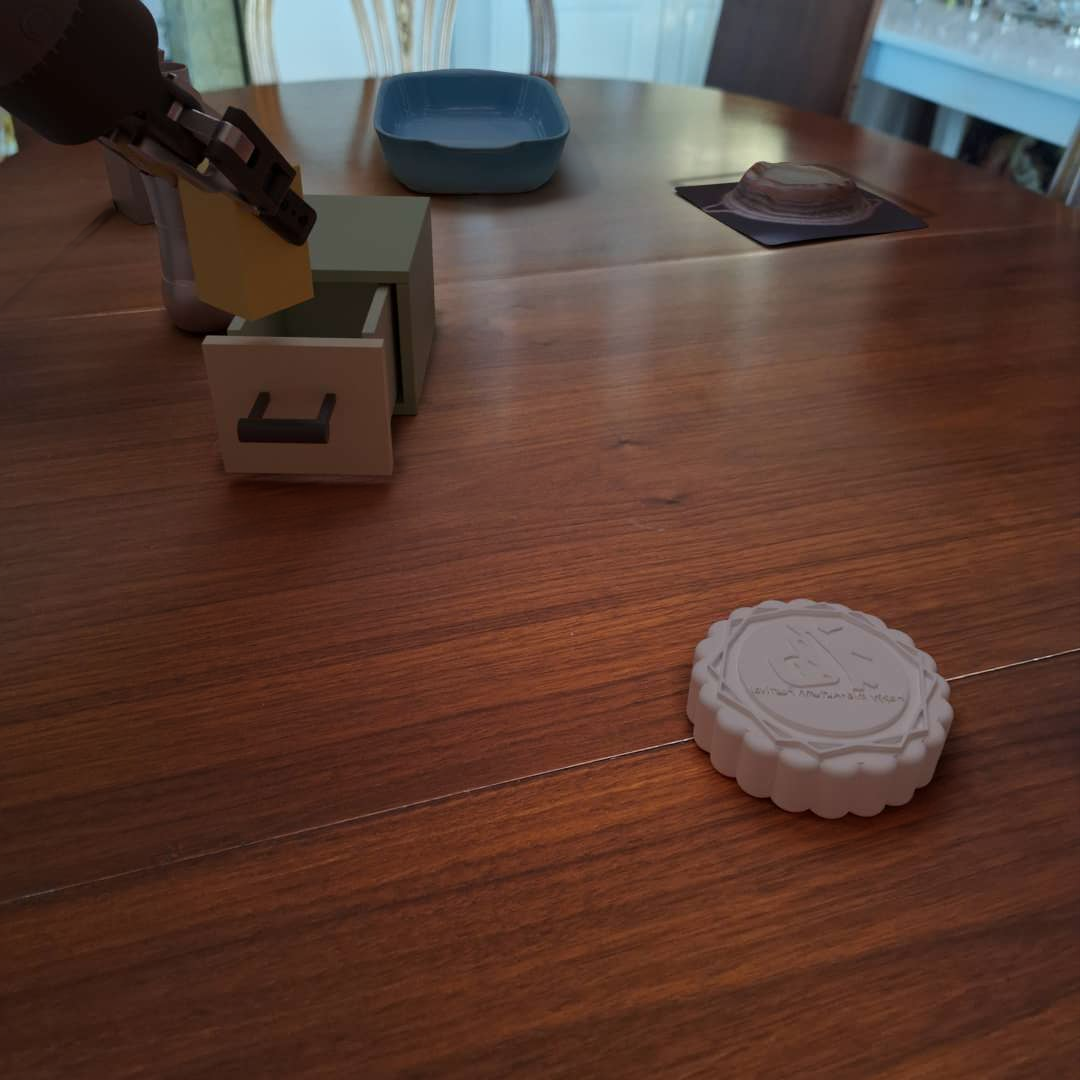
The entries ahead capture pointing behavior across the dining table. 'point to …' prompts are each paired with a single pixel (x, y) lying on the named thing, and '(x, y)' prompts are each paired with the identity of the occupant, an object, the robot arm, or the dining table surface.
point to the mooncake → (818, 707)
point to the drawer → (310, 384)
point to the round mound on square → (798, 204)
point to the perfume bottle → (128, 184)
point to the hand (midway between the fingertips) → (273, 219)
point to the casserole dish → (470, 130)
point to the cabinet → (383, 267)
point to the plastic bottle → (179, 250)
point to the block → (242, 255)
